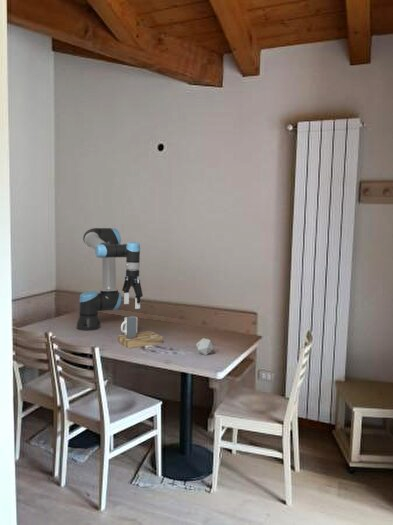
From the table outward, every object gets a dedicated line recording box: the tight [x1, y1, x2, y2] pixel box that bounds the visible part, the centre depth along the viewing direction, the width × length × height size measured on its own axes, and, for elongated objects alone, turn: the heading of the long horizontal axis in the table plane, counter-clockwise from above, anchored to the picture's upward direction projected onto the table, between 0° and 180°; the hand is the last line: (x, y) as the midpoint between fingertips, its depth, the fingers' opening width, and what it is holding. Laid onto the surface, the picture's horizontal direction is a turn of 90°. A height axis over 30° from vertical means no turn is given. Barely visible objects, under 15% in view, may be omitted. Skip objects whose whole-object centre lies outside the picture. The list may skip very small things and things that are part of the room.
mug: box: [120, 316, 139, 335], centre depth 290 cm, size 12×8×10 cm
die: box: [196, 337, 214, 356], centre depth 258 cm, size 8×9×10 cm
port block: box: [117, 330, 164, 349], centre depth 274 cm, size 14×22×4 cm, turn 126°
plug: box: [126, 315, 137, 339], centre depth 270 cm, size 4×4×16 cm
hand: (131, 306), depth 268 cm, fingers open, 13 cm apart
